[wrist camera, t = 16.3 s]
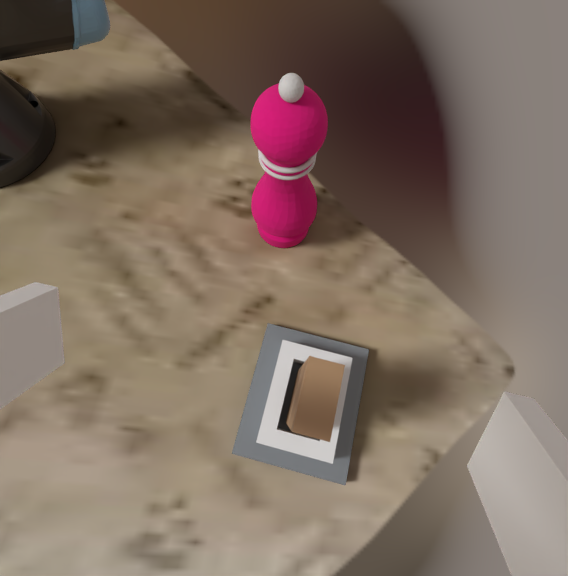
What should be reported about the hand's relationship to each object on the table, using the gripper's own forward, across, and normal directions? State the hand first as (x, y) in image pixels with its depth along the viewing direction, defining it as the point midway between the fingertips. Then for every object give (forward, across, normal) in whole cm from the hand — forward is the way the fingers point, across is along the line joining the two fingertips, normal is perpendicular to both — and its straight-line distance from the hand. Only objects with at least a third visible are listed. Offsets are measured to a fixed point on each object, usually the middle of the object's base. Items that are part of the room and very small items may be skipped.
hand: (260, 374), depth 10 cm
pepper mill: (+33, -5, -2) cm, 33 cm away
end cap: (+21, +2, -17) cm, 27 cm away
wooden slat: (+20, +2, -16) cm, 26 cm away
